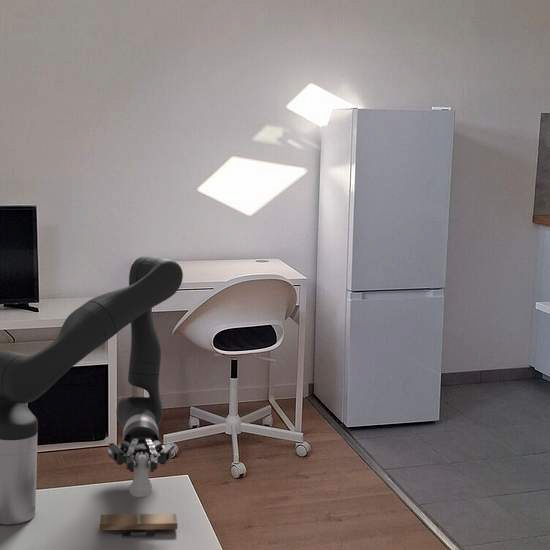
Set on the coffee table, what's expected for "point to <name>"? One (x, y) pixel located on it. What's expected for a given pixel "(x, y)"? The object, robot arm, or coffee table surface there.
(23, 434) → the robot arm
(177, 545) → the coffee table surface
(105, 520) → the beam
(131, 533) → the fulcrum
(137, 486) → the rook chess piece
